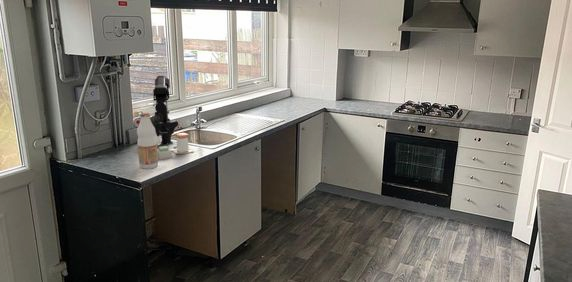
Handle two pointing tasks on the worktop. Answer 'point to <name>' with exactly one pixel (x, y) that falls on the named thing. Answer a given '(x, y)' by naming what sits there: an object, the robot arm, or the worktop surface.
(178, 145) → the white pill bottle
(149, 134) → the fruit juice
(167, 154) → the button base
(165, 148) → the button
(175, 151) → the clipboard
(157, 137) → the mug
